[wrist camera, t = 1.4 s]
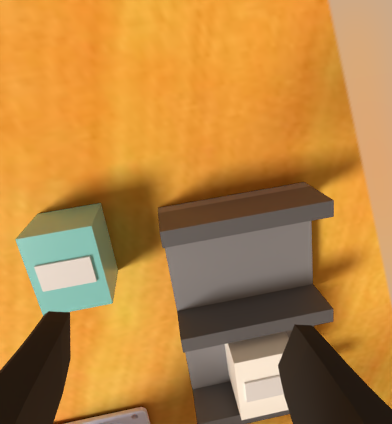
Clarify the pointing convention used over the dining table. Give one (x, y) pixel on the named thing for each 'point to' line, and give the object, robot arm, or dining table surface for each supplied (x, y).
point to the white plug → (257, 374)
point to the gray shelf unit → (240, 280)
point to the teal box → (69, 259)
